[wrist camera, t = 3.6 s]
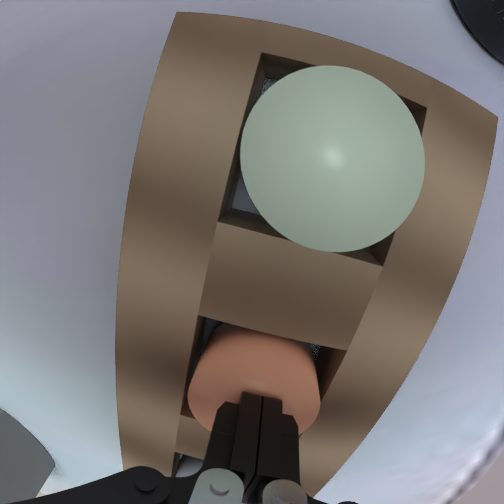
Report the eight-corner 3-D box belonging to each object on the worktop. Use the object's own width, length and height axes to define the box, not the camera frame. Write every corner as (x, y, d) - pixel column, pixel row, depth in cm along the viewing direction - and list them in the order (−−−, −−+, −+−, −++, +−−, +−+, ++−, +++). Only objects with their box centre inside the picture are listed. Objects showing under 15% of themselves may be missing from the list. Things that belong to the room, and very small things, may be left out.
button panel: (198, 40, 10) (177, 11, 8) (459, 122, 10) (498, 116, 7) (137, 452, 18) (125, 481, 15) (291, 488, 18) (290, 518, 15)
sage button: (269, 75, 9) (266, 45, 7) (401, 117, 9) (440, 105, 7) (235, 208, 11) (219, 224, 8) (366, 244, 11) (393, 271, 8)
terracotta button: (215, 300, 13) (198, 339, 10) (329, 329, 12) (341, 372, 10) (196, 385, 14) (181, 428, 11) (293, 408, 14) (294, 453, 11)
